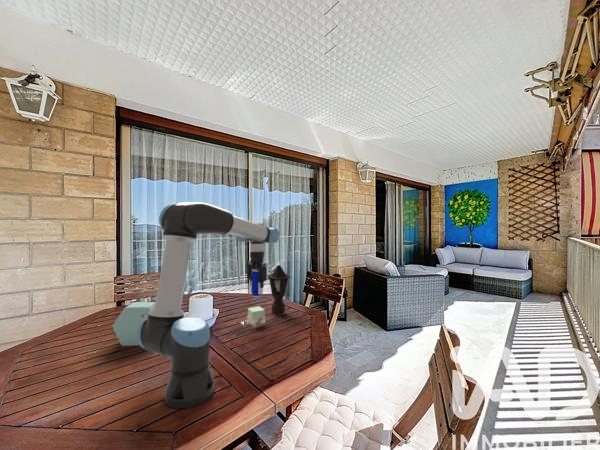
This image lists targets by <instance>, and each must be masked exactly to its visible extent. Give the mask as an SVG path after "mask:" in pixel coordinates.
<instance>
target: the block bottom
mask: <svg viewBox="0 0 600 450" xmlns="http://www.w3.org/2000/svg"><path fill="white" fill-rule="evenodd" d="M265 320H266V316H265V317H263V318H258V319H253V320H252V319H251V318H250V317H249V316H248V315H246V321H247V324H250V325H252V326H254V327H256V326H258V325H261V324H263V323H265Z"/></svg>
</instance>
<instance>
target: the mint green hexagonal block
mask: <svg viewBox="0 0 600 450" xmlns="http://www.w3.org/2000/svg"><path fill="white" fill-rule="evenodd" d="M154 306H155V301H140V302H139V301H134V302H131V304H129V305H127V306H125V307H124V308H123V309H122V311H121V312H120V314H119V315H118V316H117V318H116V319H115V320H114V322H113V324H112V328H113V331H114V333H115V335H116V337H117V340H118V341H119V343H120V346H121V347H129V346H130V347H131V346H132V347H133V346H140V344H139V343H138V340H137V332H138V328H139V326H140V324H141V323H143V322H144V319H146V318H147V317H148V313H149V312H150V311H151V310H152V309H153V308H154Z"/></svg>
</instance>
